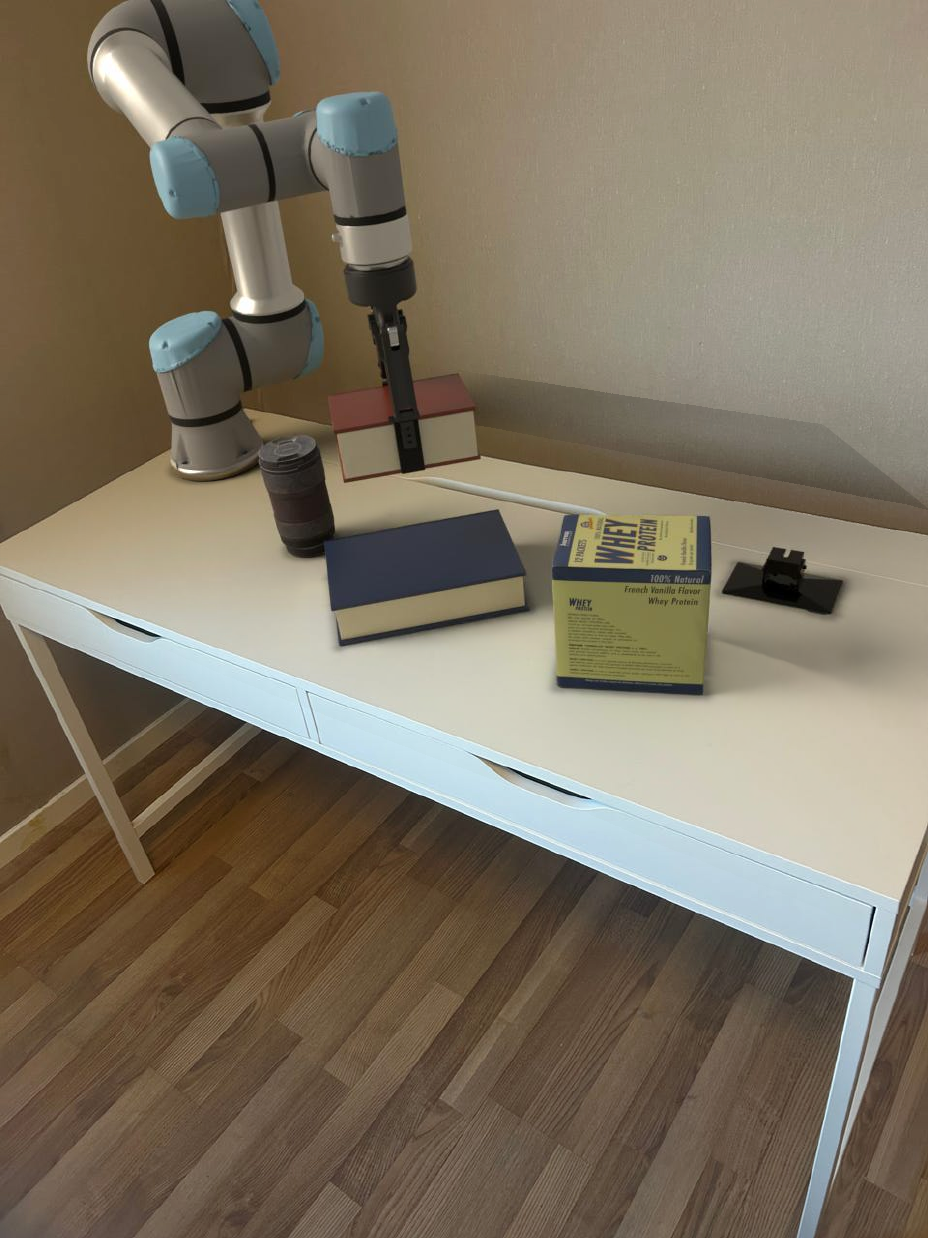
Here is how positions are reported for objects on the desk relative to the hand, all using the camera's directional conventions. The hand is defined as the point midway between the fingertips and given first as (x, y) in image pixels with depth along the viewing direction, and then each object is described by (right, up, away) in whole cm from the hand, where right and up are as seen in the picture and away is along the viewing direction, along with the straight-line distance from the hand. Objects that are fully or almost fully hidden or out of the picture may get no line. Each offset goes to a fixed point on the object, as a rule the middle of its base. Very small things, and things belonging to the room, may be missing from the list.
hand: (406, 450), depth 111 cm
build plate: (+44, -17, -1) cm, 48 cm away
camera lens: (-15, -10, +19) cm, 26 cm away
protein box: (+25, -25, -9) cm, 37 cm away
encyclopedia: (+2, -17, +6) cm, 18 cm away
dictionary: (0, 0, 0) cm, 0 cm away
